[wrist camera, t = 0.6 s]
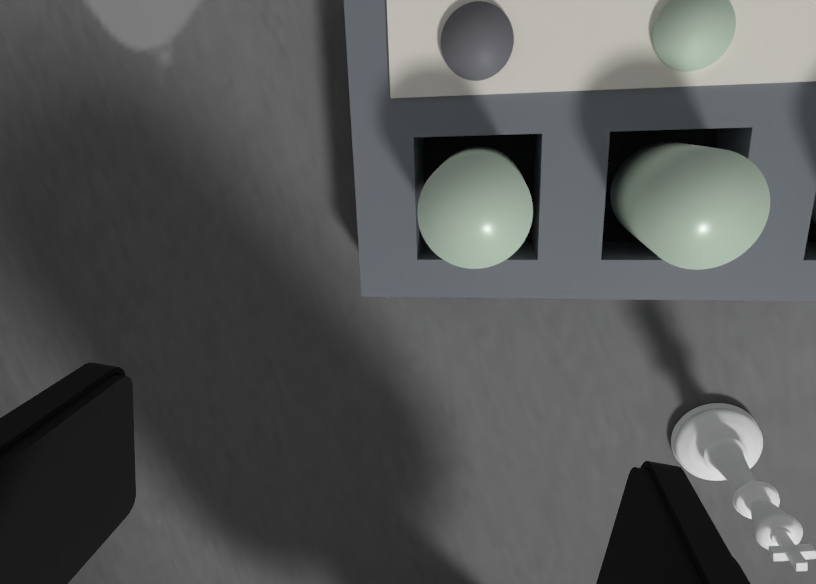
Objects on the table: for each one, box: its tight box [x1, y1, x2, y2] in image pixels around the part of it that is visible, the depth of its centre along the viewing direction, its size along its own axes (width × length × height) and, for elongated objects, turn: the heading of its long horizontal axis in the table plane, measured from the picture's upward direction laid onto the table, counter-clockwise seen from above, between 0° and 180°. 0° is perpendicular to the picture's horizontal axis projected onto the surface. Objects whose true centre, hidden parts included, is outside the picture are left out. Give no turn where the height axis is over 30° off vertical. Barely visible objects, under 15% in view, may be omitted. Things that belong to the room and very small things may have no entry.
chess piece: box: [671, 403, 816, 571], centre depth 29 cm, size 5×5×10 cm
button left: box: [417, 146, 533, 269], centre depth 26 cm, size 5×5×6 cm
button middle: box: [610, 141, 770, 270], centre depth 25 cm, size 5×5×6 cm
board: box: [344, 0, 816, 302], centre depth 27 cm, size 30×15×4 cm, turn 92°
